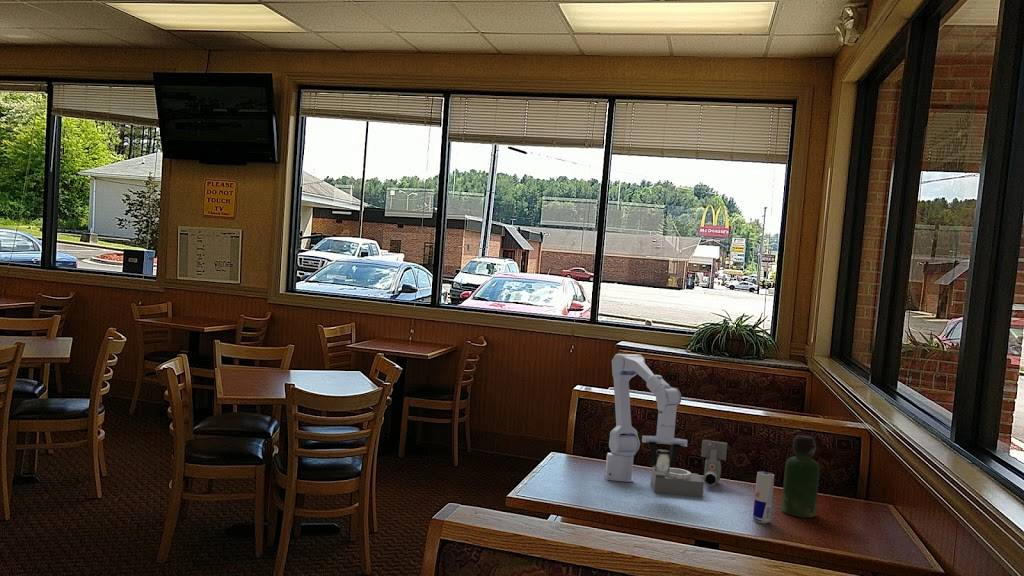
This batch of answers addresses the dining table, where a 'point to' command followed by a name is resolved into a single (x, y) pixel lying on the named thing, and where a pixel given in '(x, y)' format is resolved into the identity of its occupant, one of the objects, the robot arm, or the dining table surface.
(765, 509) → the beverage can
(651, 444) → the robot arm
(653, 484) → the mount block
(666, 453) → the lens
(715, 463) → the camera
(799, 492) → the green bottle
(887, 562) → the dining table surface
